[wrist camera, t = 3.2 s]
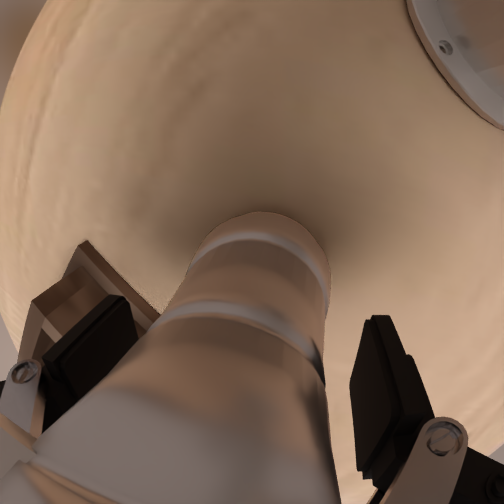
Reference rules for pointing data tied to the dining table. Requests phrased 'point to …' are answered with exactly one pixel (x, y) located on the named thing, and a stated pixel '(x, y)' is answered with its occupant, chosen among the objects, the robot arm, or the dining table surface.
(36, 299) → the bottle caddy
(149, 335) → the plastic bottle
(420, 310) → the dining table surface
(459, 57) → the robot arm
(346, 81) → the dining table surface
